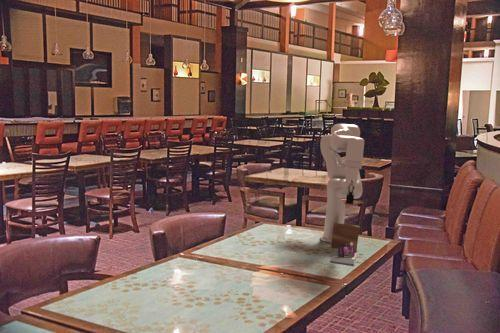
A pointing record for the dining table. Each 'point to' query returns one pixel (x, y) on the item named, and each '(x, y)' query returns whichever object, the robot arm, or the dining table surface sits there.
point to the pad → (342, 260)
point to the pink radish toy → (344, 249)
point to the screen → (345, 235)
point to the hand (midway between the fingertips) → (349, 202)
